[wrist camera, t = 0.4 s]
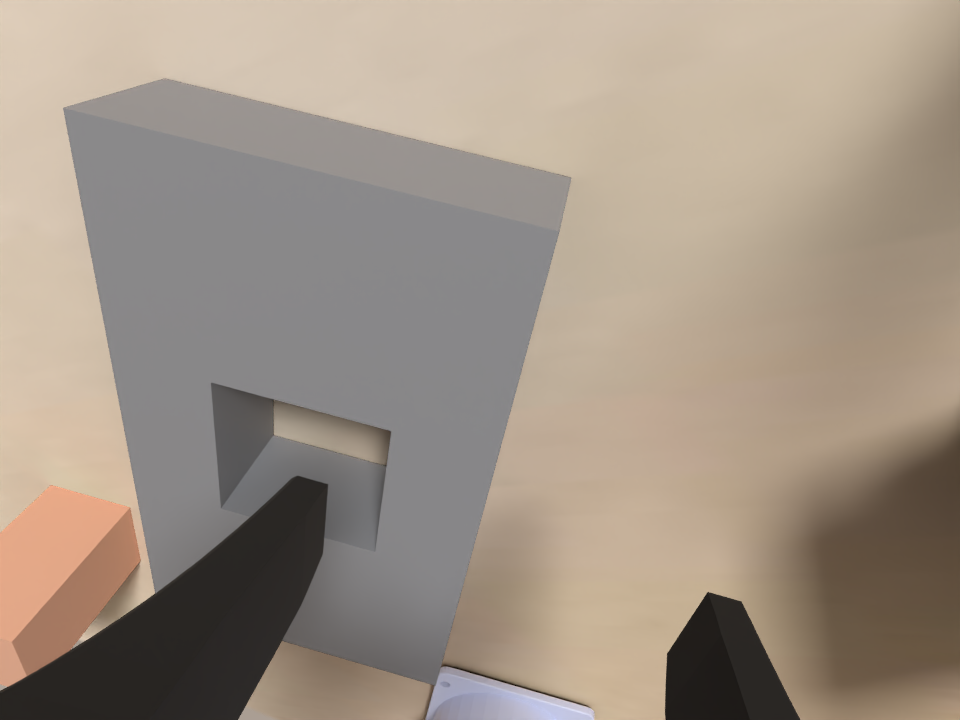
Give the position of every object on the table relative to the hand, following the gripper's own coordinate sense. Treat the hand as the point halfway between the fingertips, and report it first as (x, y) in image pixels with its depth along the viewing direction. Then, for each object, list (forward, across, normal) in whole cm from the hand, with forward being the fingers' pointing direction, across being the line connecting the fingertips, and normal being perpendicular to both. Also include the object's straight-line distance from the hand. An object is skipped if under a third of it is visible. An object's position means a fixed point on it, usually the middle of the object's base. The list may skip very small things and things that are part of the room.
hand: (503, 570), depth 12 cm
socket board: (+10, +6, +6) cm, 13 cm away
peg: (+10, +18, +18) cm, 27 cm away
